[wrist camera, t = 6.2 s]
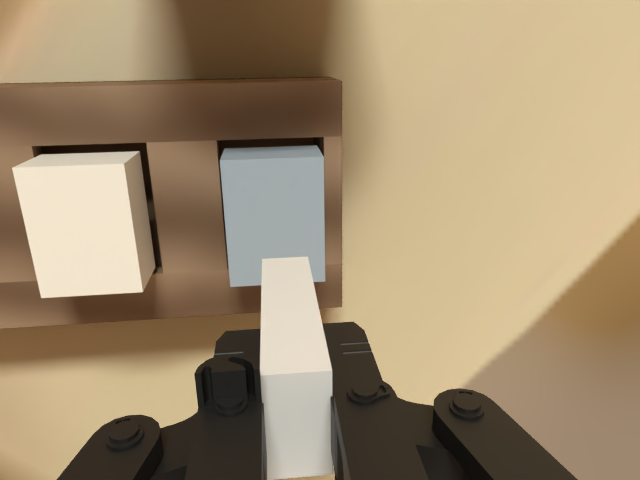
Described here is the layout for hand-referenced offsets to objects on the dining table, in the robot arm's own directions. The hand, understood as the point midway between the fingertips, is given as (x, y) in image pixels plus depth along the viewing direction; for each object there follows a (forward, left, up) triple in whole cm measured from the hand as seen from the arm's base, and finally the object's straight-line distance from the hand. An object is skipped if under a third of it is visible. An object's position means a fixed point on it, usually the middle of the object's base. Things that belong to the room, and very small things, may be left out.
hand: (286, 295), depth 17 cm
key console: (0, -9, -15) cm, 17 cm away
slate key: (0, 0, -10) cm, 10 cm away
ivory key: (0, -9, -10) cm, 13 cm away
